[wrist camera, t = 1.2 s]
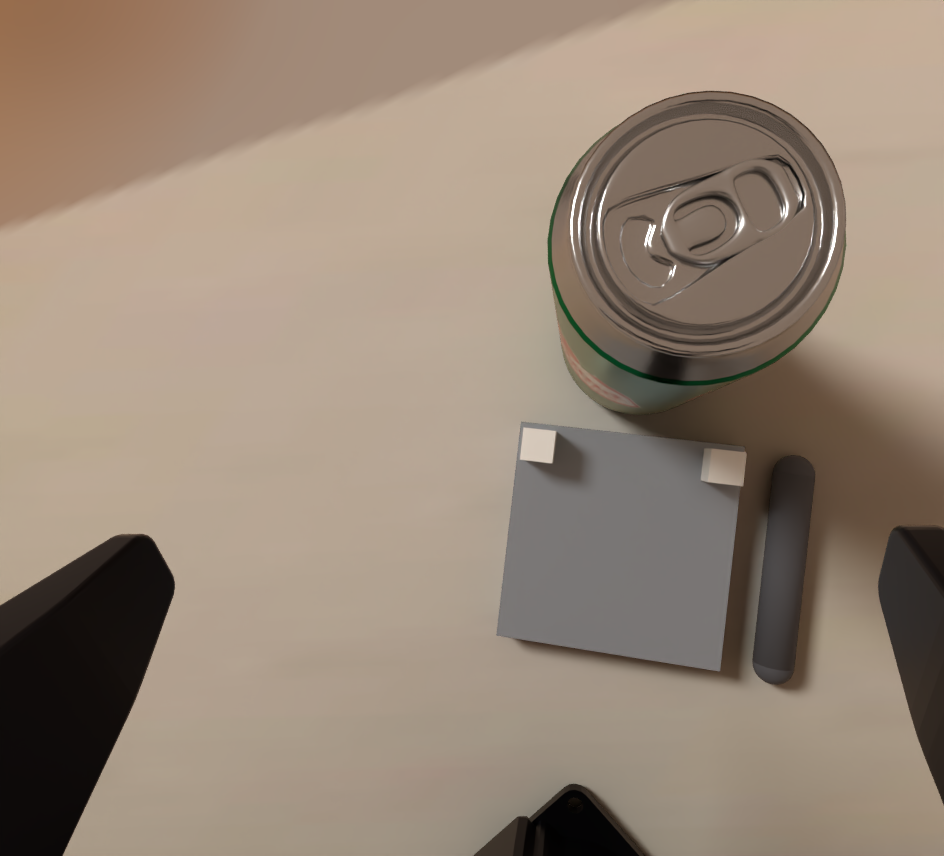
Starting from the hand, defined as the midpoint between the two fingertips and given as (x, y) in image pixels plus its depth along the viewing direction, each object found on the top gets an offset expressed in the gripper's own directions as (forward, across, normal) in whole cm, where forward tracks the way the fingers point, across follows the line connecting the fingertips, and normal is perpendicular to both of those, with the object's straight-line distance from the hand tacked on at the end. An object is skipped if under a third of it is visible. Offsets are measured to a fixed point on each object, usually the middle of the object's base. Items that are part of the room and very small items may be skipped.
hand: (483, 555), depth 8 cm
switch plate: (+11, -1, +10) cm, 15 cm away
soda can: (+15, -2, +5) cm, 16 cm away
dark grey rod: (+11, -6, +11) cm, 17 cm away
